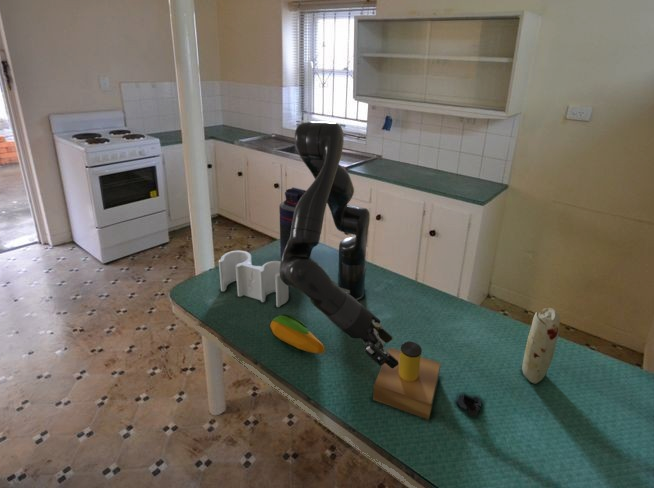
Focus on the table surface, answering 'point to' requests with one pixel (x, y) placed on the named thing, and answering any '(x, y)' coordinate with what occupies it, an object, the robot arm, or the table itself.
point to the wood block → (408, 387)
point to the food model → (541, 344)
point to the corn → (295, 334)
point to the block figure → (469, 404)
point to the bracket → (252, 277)
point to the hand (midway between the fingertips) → (392, 352)
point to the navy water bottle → (288, 214)
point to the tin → (409, 361)
